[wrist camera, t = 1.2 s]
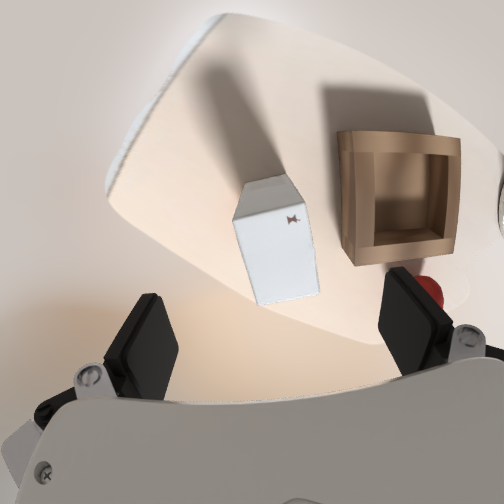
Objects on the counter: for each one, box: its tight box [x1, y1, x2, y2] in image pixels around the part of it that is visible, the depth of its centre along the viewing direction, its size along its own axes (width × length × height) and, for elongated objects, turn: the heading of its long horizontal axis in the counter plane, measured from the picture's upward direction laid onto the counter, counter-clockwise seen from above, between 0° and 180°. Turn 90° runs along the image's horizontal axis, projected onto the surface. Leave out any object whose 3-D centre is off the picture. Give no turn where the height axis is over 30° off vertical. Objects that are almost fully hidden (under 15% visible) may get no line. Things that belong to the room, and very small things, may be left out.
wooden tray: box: [337, 131, 461, 266], centre depth 23 cm, size 12×12×4 cm
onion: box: [414, 275, 444, 309], centre depth 26 cm, size 6×6×8 cm
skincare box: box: [232, 174, 320, 306], centre depth 21 cm, size 6×4×12 cm
